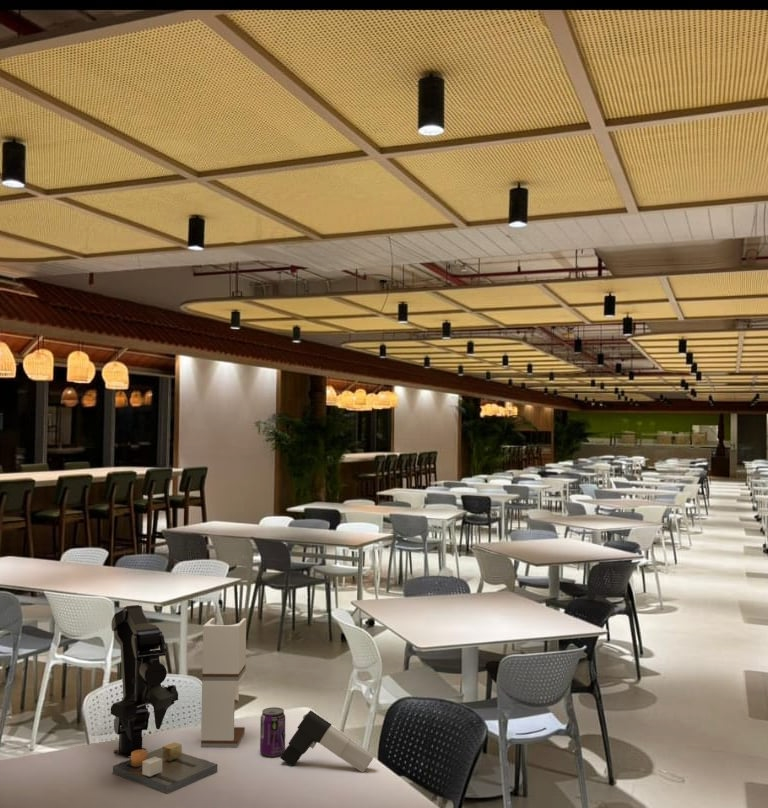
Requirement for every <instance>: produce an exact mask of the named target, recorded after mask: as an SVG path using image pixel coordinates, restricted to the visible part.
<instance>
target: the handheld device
mask: <svg viewBox="0 0 768 808" xmlns="http://www.w3.org/2000/svg"><path fill="white" fill-rule="evenodd" d="M317 743H318V744H319V745H321V746H322V747H323V748H326V749H327V750H328V751H330V752H331V753H332V754H334V755H335V756H336V757H338V758H340V759H341V760H343V761H345V762H346V763H347V764H349V765H350V766H352V767H353V768H355V769H357V770H358V771H359V772H361V773H364V772H365V771H366V770H367V769H368V767H369V766H370V765H371V764H370V763H371V762H372V761H373V760H374V757H375V755H373V754H372V753H371V752H369V751H368V750H367V749H365V748H364V747H363V746H361V745H360V744H358V743H357V742H355V741H354V740H353V739H352V738H351V737H349V736H348V735H346V734H345V733H343V732H342V731H341V730H339V729H338V728H336V727H335V726H333V725H332V723H331V722H328V721H327V720H326V718H325V719H324V718H323V717H321V716H320V715H319V714H317V713H316V712H314V711H313V710H308V712H307V713H305V714H304V715H303V717H302V721H301V722H300V723H299V724H298V726H297V729H296V732H295V733H294V734H293V735H292V737H291V739H290V740H289V742H288V745H287V746H286V747H285V751H284V752H283V753H282V754H280V755H279V756H280V757H279V758H280V760H282V761H284V762H285V763H286V764H288V765H290V766H291V767H295V766H296V764H297V763H298V761H299V759H301V757H302V756H303V755H304V754H306V752H307V751H308V750H309V749H310V748H311V749H314V748H315V746H316V744H317Z"/></svg>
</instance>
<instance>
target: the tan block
mask: <svg viewBox="0 0 768 808" xmlns="http://www.w3.org/2000/svg"><path fill="white" fill-rule="evenodd" d="M162 747H163V759H165V760H168V761H171V760H174V759H176V758H179V757H181V756H182V753H183V751H182V749H183V744H181V743H178V742H172V743H169V744H167V745H164V746H162Z"/></svg>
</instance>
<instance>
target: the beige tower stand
mask: <svg viewBox="0 0 768 808" xmlns="http://www.w3.org/2000/svg"><path fill="white" fill-rule="evenodd" d="M246 651H247V618H245V617H243V618H242V619H241V620H240V621H239V622H238V623H234V624H226V625H222V624H221V625H219V624H216V617H211V618H210V619H209V620H208V621H207V622H206V623H205V624H204V625H202V661H201V662H202V664H201V666H202V668H201V669H202V670H201V671H202V672H201V674H202V675H201V683H202V684H201V723H200V724H201V725H200V727H201V728H200V732H201V733H200V748H207V749H209V748H212V749H213V748H215V749H216V748H219V749H223V748H224V749H227V748H228V749H229V748H230V749H238V747H239V745H240V743H241V741H242V740H243V737H245V734H246V733H245V731H246V729H245V727H243V726H242V727H241V726H239V727H238V726H237V727H236V726H235V705H237V704H238V703H239V697H240V688H239V687H240V683H241V682H242V681H243V679H244V678H245V676H246V671H247V670H246V666H247V665H246V659H247V657H246V656H247V653H246Z"/></svg>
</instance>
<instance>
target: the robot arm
mask: <svg viewBox="0 0 768 808" xmlns="http://www.w3.org/2000/svg"><path fill="white" fill-rule="evenodd" d="M111 630H112V632H113V637H114V639H115V640H116V641H117V643H118V645H119V647H120V663H121V677H122V678H121V680H122V682H121V683H122V698H121V700H120V701H116V702H114V703H112V705H110V715H112V716H114V717H115V718H114V721H113V730H114V732H115V733H116V735H118V749H115V750H114V751H113V753H114V754H117V755H120V756H123V757H126V758H131V752H133V751H135V750H146V751H147V748H145V747H143V731H147V730H148V728H149V723H150V722H149V721H150V716H151V712H150V711H149V709H148V707H147V706H148V705H151V706H152V707H153V715H154V725H155V728H156V730H160V729H161V727H162V724H163V721H164V718H165V715H166V713H167V711H168V709H170V708H171V706H173V705H174V704H175V702H176V701H179V692H178V690H177V687H176V685H174V684H171V685H168V686H162V683H163V682H164V681H165V680H166V677H167V674H168V671H167V668H166V666H165V665H164V664H163V663H162V662H161V658H160V657H165V656H166V651H167V645H166V640H165V636H164V634H163V632H162V630H161V629H160V628H159V627H158V626H157V625H156V624H153V623H150V622H149V620H148V619H147V617H146V614H145V613H144V612H143V606H142V605H140V604H135V605H134V604H133V605H126V606H124V607H122V610H120V611H118V612H116V613H114V615H113V617H112V618H111Z"/></svg>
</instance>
